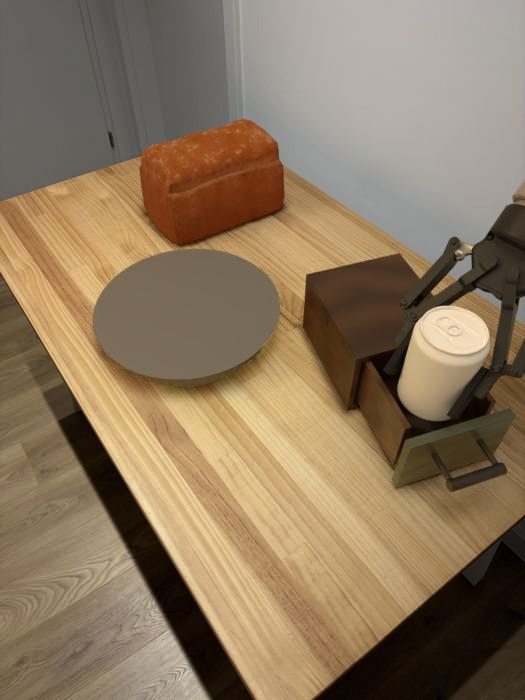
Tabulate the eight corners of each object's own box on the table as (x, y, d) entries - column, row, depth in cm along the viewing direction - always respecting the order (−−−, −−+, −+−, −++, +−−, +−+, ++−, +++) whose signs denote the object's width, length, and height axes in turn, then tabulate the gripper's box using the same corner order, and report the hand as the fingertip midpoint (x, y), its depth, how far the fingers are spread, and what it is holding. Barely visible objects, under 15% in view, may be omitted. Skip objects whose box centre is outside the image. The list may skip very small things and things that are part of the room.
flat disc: (314, 350, 83) (316, 329, 80) (141, 430, 74) (135, 411, 70) (227, 250, 99) (225, 229, 96) (75, 306, 90) (67, 285, 86)
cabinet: (441, 383, 79) (461, 331, 71) (346, 410, 76) (356, 359, 68) (387, 305, 89) (399, 252, 81) (302, 327, 86) (305, 274, 78)
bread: (138, 206, 108) (124, 134, 97) (245, 170, 117) (243, 100, 106) (177, 252, 99) (165, 178, 88) (290, 210, 107) (293, 137, 96)
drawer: (515, 488, 67) (543, 449, 60) (415, 522, 64) (432, 485, 57) (430, 366, 80) (445, 323, 73) (343, 390, 77) (350, 347, 70)
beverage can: (428, 435, 64) (454, 369, 55) (382, 388, 68) (399, 320, 59) (478, 405, 67) (510, 337, 58) (431, 362, 71) (454, 293, 62)
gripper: (638, 272, 57) (506, 449, 61) (463, 191, 67) (360, 348, 72) (644, 254, 50) (495, 453, 55) (448, 167, 61) (337, 342, 65)
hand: (419, 394), depth 63 cm, fingers closed on beverage can, 8 cm apart
